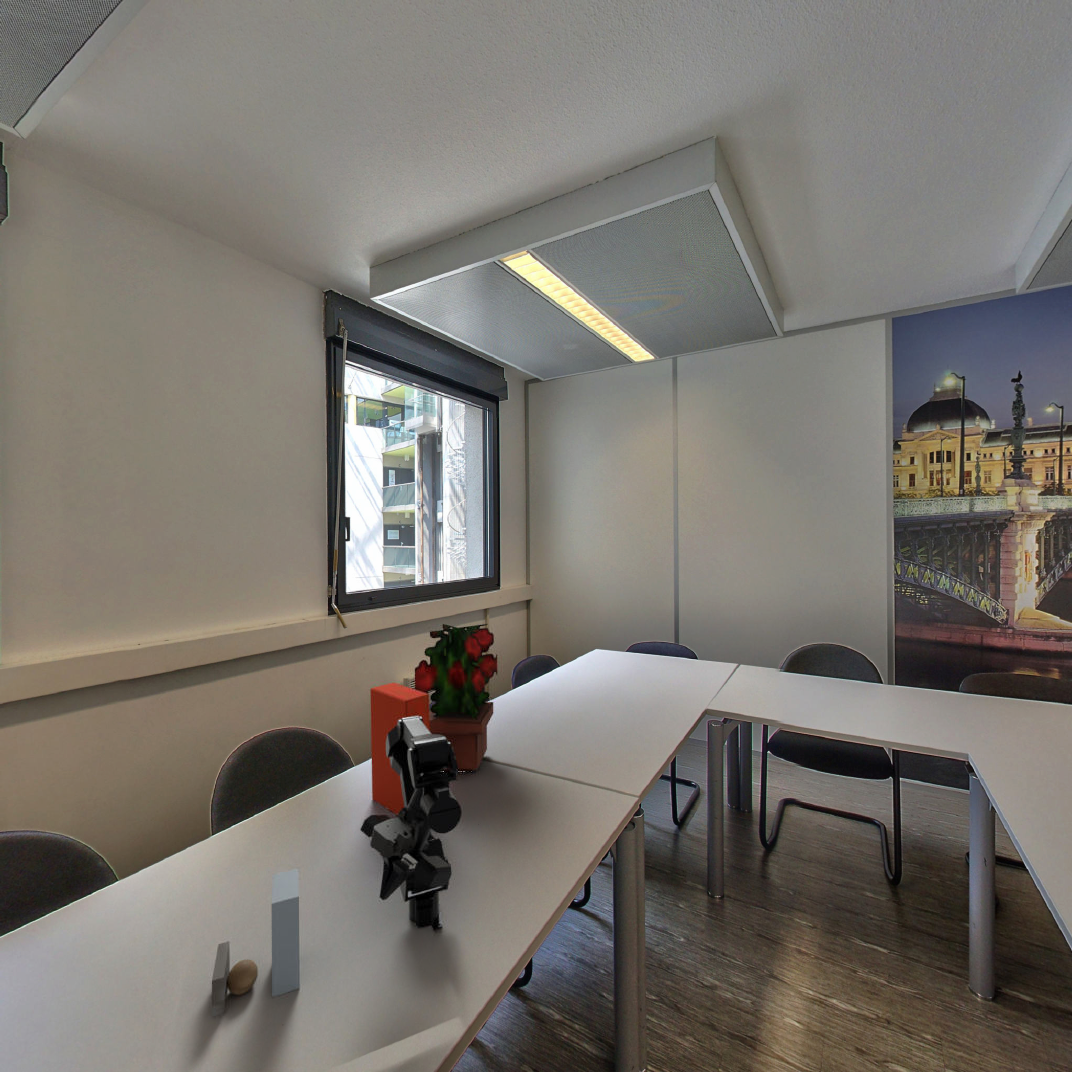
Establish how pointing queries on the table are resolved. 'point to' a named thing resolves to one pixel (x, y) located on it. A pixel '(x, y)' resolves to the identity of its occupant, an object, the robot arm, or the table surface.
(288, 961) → the block
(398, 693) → the file binder
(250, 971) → the walnut
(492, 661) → the potted plant
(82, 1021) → the table surface
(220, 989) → the press bed
